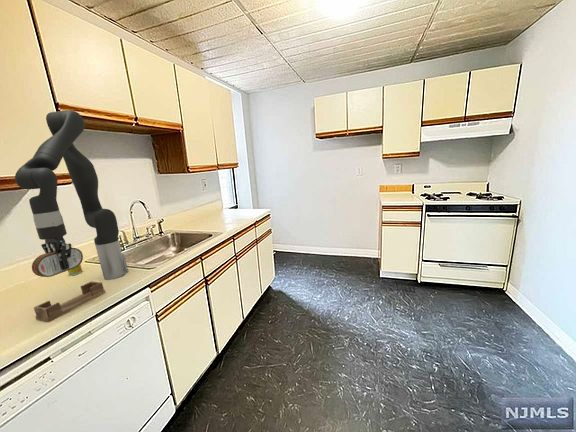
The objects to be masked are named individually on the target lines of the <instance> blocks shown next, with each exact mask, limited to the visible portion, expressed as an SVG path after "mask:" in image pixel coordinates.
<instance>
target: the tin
mask: <svg viewBox="0 0 576 432" xmlns="http://www.w3.org/2000/svg"><path fill="white" fill-rule="evenodd" d="M59 252H61V251H59ZM83 260H84V255H83V252H82V251H81V250H80V249H79V248H76V247H72V246H71V257H69V258H68V259H67V261H68V264H69V268H68V269H66V270H62V269H61V266H60V263H59V259H58V257H57V255H55V253H54V252H49V253H43V254H40V255H39V256H37V257H36V258H35V259H34V260H33V261H32V264H31V270H32V273H33V274H34V275H36V276H38V277H41V278H50V277H51V278H52V277H54V276H57V275H59V274H62V273H66V272H68V270H71V269H73V268H76V267H78V266H79V265H82V262H83Z"/></svg>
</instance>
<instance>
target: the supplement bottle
mask: <svg viewBox="0 0 576 432" xmlns="http://www.w3.org/2000/svg"><path fill="white" fill-rule="evenodd" d="M67 273H68V275H69V276H70V277H73V276H78V275H80V274H82V273H83V269H82V264H80V265H79V266H78V267H76V268H73V269H71V270H68V271H67Z"/></svg>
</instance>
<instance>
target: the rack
mask: <svg viewBox="0 0 576 432" xmlns="http://www.w3.org/2000/svg"><path fill="white" fill-rule="evenodd" d="M80 290H81V292H82V294H80V295H77V296H75V297H72V298H71V299H69V300H67V301H65V302H63V303H60V302H56V303H53V304H52V303H51V301H50V300H46V301H45V302H43V303H41V304H37V305H36V306H34V307H33V309H34V313H35V316H34V317H35V320H37V321H41V322H46V323H50V322H51V321H54V320H56V319H57V318H60V317H62V316H64V315H65V314H67V313H69V312H71V311H73V310H75V309H77V308H79V307H81V306H82V305H84V304H87V303H88V302H91V301H93V300H95V299H97V298H99V297H100V296H102V295H104V294H106V293H107V292H106V290H105V288H104V285H103V282H98V281H92V280H91V281H90V282H87V283H85V284H83V285H81V286H80Z"/></svg>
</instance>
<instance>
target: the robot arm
mask: <svg viewBox="0 0 576 432" xmlns="http://www.w3.org/2000/svg"><path fill="white" fill-rule="evenodd" d="M45 120H46V124H47V125H46V126H47V127H48V129H49V131H50V134H51V135H52V136H50V137H49V138H47V139H46V140H44V141H43V142H42V143H41V144H40V145H39V146H38V148H37V150H36V151H35V153H34V155H33V156H32V157H31V158H30V159H29V160H27V161H26V162H25V163H24V164H23V165H22V166H20V167H19V168H18V169H17V170H16V173H15V175H14V181H15V183H16V185H17V186H18V187H19V188H21V189H23V190H38V189H39V193H38V195H35V196H33V197H30V198H29V201H28V202H29V206H30V210H31V213H32V217H33V223H34V226H35V229H36V233H37V236H38V239H39V240H42V241H43V240H44V243H41V244H40V246H41V248H42V250H43V251H44V254H46V253H49V252H54V253H55V255H57V257H58V259H59V263H60V266H61V269H62V270H66V269H68V268H69V264H68V261H67V259H68V258H69V257H71V247H72V244H71V243H66V240H65V238H64V236H66V235H67V229H66V225H65V222H64V218H63V216H62V213H61V211H60V208H59V203H58V201H57V195H58V177H57V175H56V173H55V172H54V171H55V170H57V168H58V167H59V166H60V164H61V161H62V160H63V161H64V163H65V166H66V169H67V172H68V174H69V177H70V179H71V182H72V184H73V186H74V189H75V192H76V194H77V197H78V200H79V202H80V205H81V209H82V213H83V217H84V220H85V223H86V224H87V225H88V226H89V227H91V228H93V229H95V231H96V236H95V237H94V238H93V241H94V245H95V250H96V254H97V257H98V261H99V265H100V268H101V272H102V276H103V279H104V280H108V281H109V280H114V279H118V278H120V277H123V276H125V275H126V274H127V273H128V272H129V269H128V265H127V264H128V263H127V261H126V256H125V254H124V253H123V252H122V247H121V245H120V240H119V234H120V233H119V226H118V221H117V217H116V214H115V212H113V211H112V210H111V209H108V208H103V206H102V204H101V201H100V199H99V193H98V192H99V178H98V174H97V172H96V169H95V166H94V164H93V162H91V160H90V159H89V158H87V157H86V156H85V155H84V154H83V153H82V152H81V151H80V150H78V149H77V148H76V146H75V144H74V142H75V141H76V140H77V139H78V138H79V137H80V135H81V134H82V133H83V132H84V130H85V127H86V124H85V121H84V118H83V117H82V115H81V114H80V113H79V112H77V111H76V110H71V109H69V110H68V109H66V110H65V109H64V110H60V111H59V110H58V111H50V112H48V113H47V114H46V117H45ZM59 251H61V252H59Z"/></svg>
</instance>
